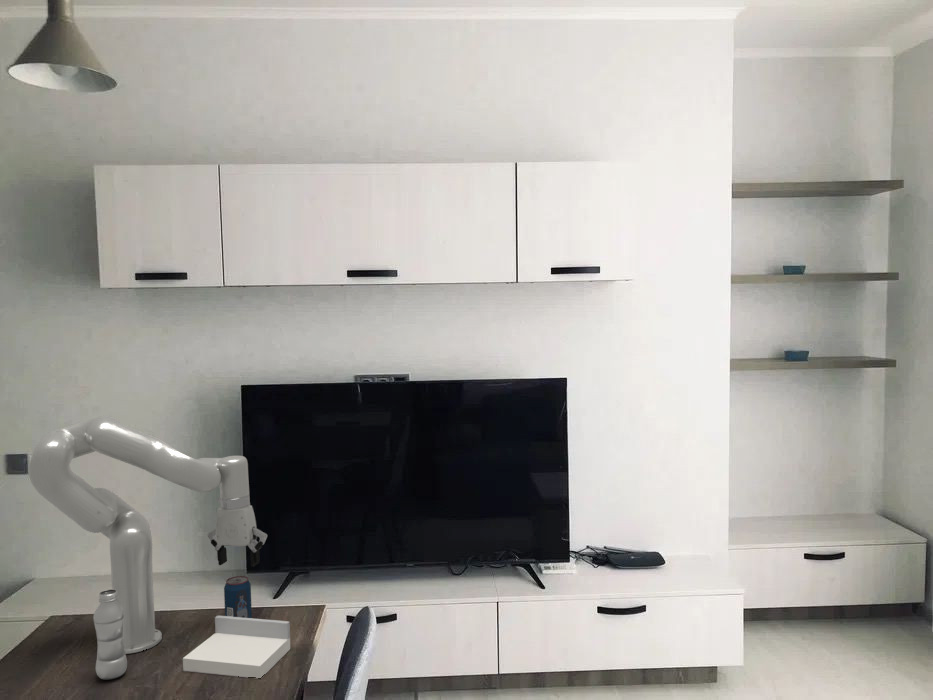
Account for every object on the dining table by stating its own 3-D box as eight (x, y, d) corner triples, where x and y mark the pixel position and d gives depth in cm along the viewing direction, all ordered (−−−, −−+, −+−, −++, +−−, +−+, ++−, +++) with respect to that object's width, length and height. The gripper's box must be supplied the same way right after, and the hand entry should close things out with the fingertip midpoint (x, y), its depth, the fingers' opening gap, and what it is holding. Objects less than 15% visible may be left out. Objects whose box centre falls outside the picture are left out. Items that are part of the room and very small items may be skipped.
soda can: (236, 616, 200) (235, 573, 200) (257, 619, 198) (255, 576, 197) (219, 626, 194) (218, 582, 193) (240, 630, 191) (239, 585, 191)
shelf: (183, 670, 170) (182, 641, 169) (218, 642, 184) (217, 615, 184) (260, 678, 165) (259, 649, 165) (290, 648, 180) (289, 621, 180)
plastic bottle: (115, 684, 164) (111, 598, 163) (89, 682, 165) (85, 596, 164) (133, 670, 170) (130, 587, 169) (108, 668, 171) (105, 586, 170)
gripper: (198, 505, 192) (202, 567, 193) (257, 506, 189) (261, 570, 190) (214, 497, 200) (217, 558, 201) (271, 499, 196) (274, 560, 197)
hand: (238, 564), depth 195 cm, fingers open, 9 cm apart
